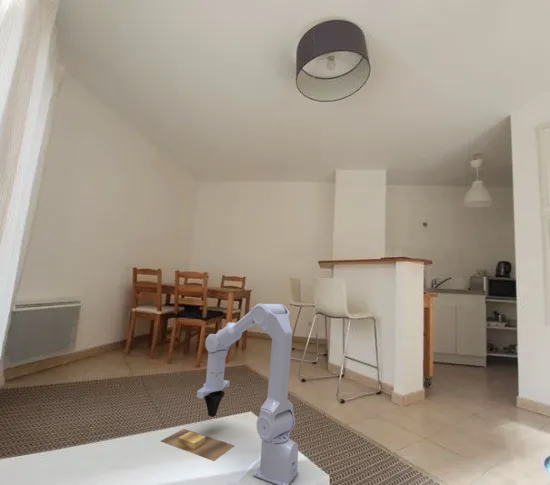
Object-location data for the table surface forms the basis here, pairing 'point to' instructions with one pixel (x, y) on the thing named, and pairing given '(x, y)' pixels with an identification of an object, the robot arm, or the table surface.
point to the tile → (191, 440)
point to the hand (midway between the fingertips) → (211, 415)
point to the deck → (208, 450)
